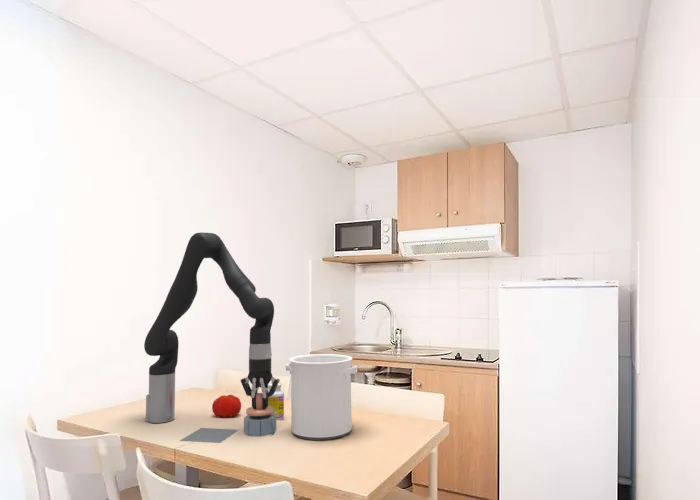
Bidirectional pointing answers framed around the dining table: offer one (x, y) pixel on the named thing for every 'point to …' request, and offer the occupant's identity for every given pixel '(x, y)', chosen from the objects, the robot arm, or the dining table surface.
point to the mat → (210, 435)
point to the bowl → (260, 425)
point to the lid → (259, 407)
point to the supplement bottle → (277, 402)
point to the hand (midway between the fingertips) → (260, 408)
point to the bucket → (321, 395)
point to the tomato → (226, 406)
